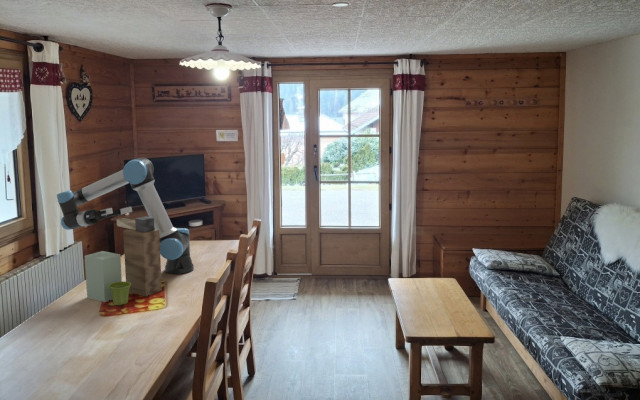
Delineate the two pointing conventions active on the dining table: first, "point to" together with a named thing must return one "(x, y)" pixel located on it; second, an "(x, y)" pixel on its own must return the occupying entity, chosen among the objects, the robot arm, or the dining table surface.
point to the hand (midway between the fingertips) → (121, 209)
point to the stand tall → (142, 261)
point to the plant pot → (120, 292)
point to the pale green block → (102, 274)
